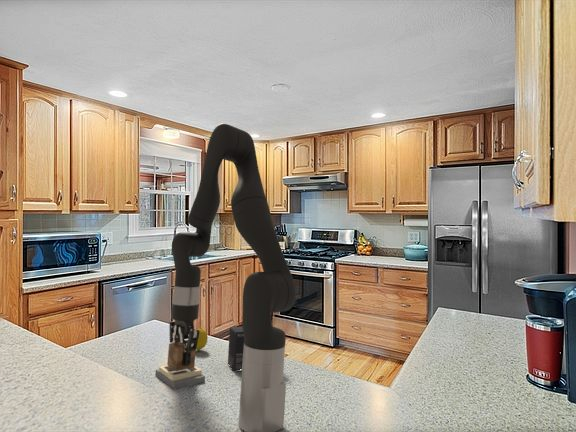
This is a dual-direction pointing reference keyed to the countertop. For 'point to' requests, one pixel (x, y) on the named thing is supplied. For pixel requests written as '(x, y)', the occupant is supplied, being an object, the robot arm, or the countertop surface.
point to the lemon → (201, 339)
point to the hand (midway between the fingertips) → (181, 362)
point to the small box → (236, 348)
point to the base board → (180, 376)
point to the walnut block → (178, 357)
